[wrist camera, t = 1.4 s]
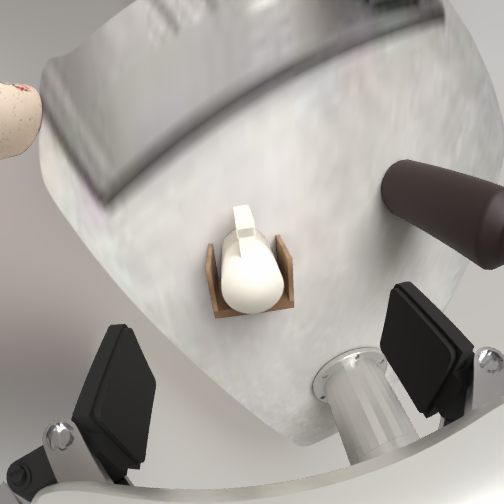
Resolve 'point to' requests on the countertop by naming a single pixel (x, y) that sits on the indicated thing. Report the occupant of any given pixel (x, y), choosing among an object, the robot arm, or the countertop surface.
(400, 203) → the bottle
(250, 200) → the countertop surface
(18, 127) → the teacup with lid
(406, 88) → the countertop surface
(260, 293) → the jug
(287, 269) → the caddy
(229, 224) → the countertop surface
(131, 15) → the countertop surface
